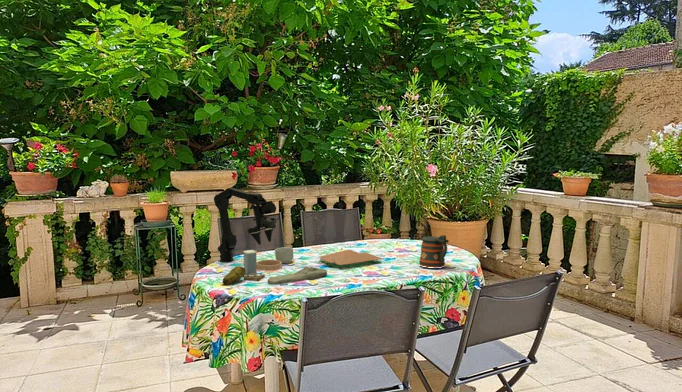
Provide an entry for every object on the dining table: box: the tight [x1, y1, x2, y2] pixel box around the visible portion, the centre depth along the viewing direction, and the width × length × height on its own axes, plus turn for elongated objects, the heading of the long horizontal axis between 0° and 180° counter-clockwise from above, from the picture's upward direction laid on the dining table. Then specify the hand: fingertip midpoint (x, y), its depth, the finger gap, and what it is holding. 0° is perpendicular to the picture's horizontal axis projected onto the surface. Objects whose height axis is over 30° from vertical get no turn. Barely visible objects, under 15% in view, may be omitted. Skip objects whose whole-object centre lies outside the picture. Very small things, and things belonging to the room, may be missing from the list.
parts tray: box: [243, 273, 266, 282], centre depth 254 cm, size 8×8×2 cm
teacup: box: [274, 246, 294, 264], centre depth 293 cm, size 14×11×8 cm
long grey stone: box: [267, 265, 328, 286], centre depth 256 cm, size 35×5×10 cm
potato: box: [222, 265, 246, 286], centre depth 247 cm, size 8×13×8 cm, turn 127°
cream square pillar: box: [243, 249, 258, 276], centre depth 263 cm, size 5×5×13 cm
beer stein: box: [418, 234, 449, 267], centre depth 284 cm, size 19×15×20 cm
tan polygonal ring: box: [256, 259, 283, 271], centre depth 278 cm, size 14×14×3 cm
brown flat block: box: [318, 249, 383, 270], centre depth 293 cm, size 23×33×8 cm
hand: (265, 243), depth 278 cm, fingers open, 9 cm apart
